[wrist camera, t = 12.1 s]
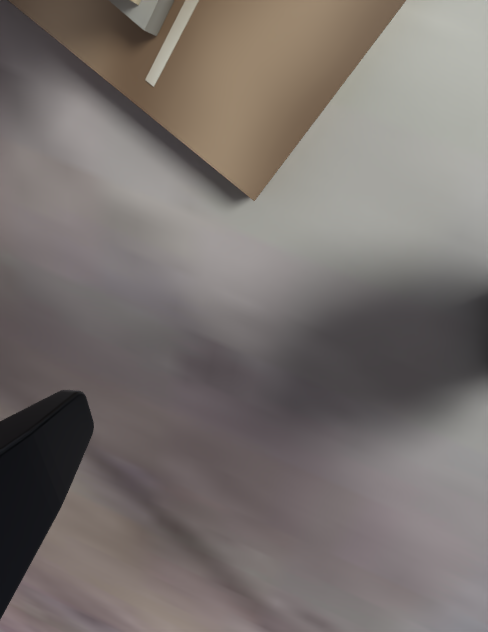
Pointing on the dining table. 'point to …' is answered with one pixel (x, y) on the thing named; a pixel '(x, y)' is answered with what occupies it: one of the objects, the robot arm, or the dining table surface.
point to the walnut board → (225, 68)
